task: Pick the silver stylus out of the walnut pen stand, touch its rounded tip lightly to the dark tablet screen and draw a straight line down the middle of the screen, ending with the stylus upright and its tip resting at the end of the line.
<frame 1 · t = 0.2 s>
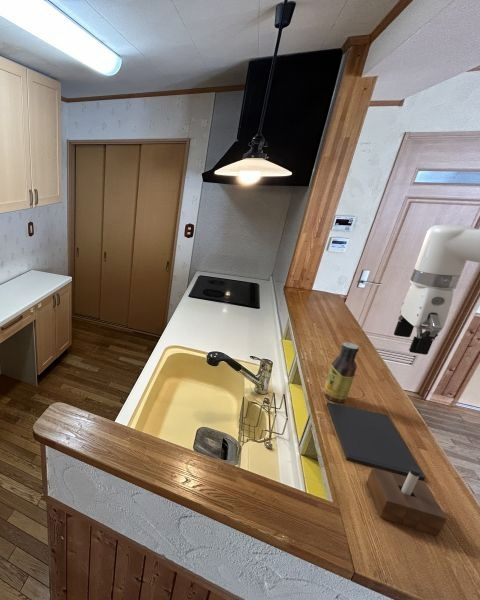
hand: (409, 344, 81), 29 cm above the worktop, tool pointing down, fingers open, 9 cm apart
stylus: (407, 489, 69), in the pen stand
sauce bottle: (333, 398, 106), on the worktop
pen stand: (399, 507, 71), on the worktop
tablet: (368, 437, 90), on the worktop
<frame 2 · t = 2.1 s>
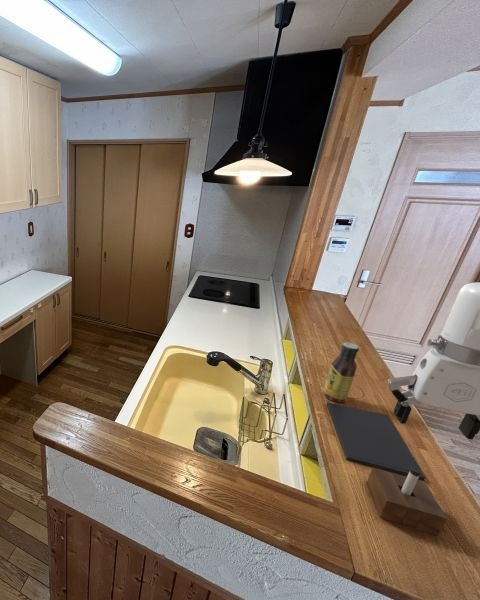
hand: (431, 426, 64), 22 cm above the worktop, tool pointing down, fingers open, 9 cm apart
nothing on the worktop moved.
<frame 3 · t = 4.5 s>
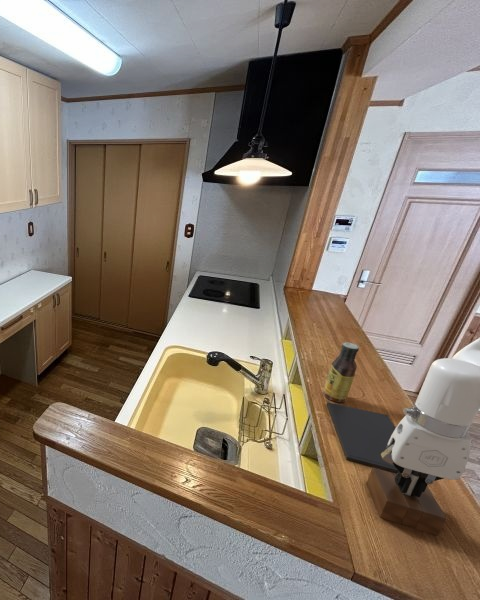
hand: (407, 489, 69), 6 cm above the worktop, tool pointing down, fingers closed on stylus, 1 cm apart
stylus: (407, 489, 69), in the pen stand, touching gripper
everything else where it was.
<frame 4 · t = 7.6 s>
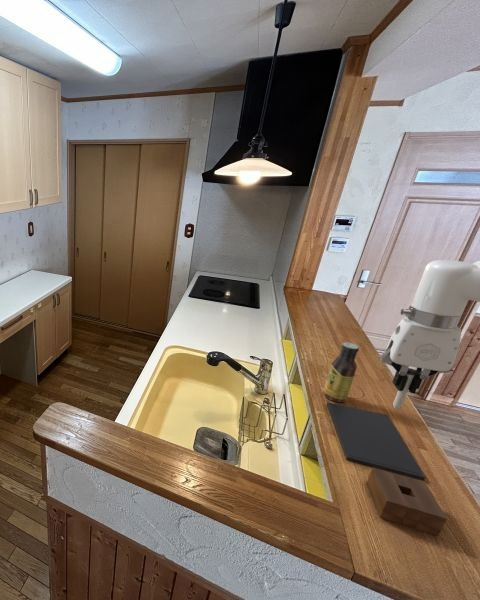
hand: (403, 388, 76), 21 cm above the worktop, tool pointing down, fingers closed on stylus, 1 cm apart
stylus: (403, 389, 76), point 21 cm above the worktop, touching gripper
everything else where it was.
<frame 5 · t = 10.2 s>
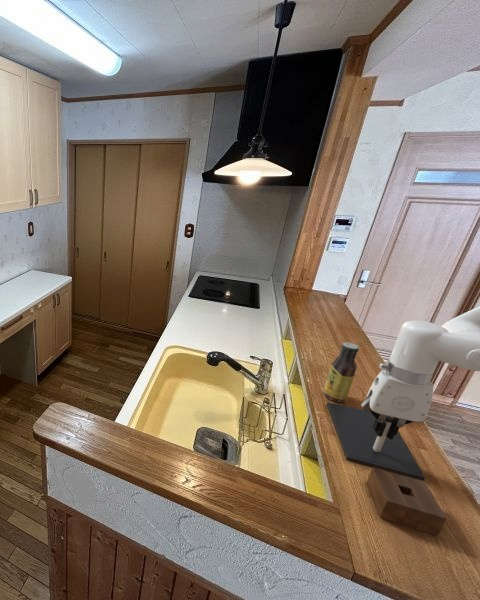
hand: (382, 433, 82), 7 cm above the worktop, tool pointing down, fingers closed on stylus, 1 cm apart
stylus: (382, 434, 82), on the tablet, point 7 cm above the worktop, touching gripper
everything else where it was.
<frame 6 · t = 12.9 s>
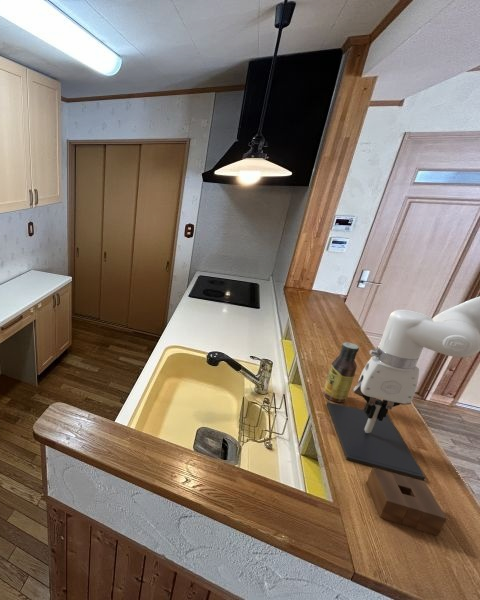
hand: (373, 416, 88), 7 cm above the worktop, tool pointing down, fingers closed on stylus, 1 cm apart
stylus: (372, 417, 88), on the tablet, point 7 cm above the worktop, touching gripper
everything else where it was.
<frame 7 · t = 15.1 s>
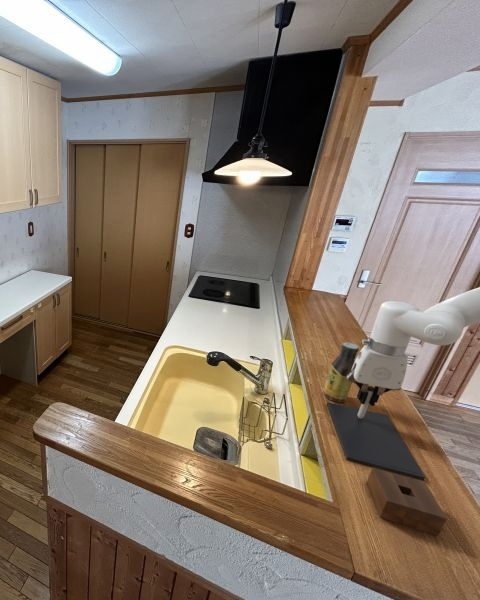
hand: (365, 402, 94), 7 cm above the worktop, tool pointing down, fingers closed on stylus, 1 cm apart
stylus: (365, 403, 94), on the tablet, point 7 cm above the worktop, touching gripper
everything else where it was.
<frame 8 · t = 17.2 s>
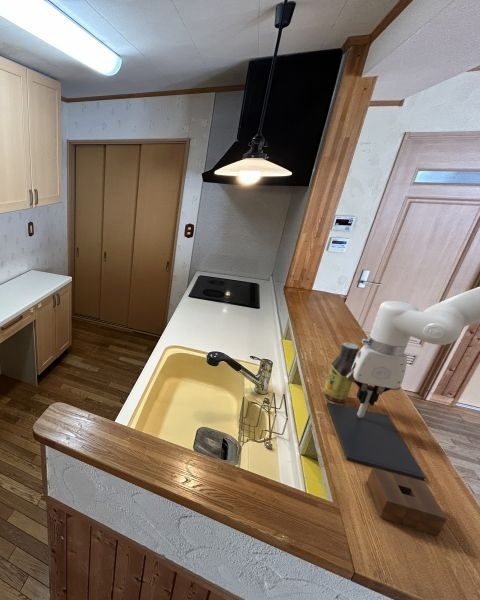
hand: (365, 401, 94), 7 cm above the worktop, tool pointing down, fingers closed on stylus, 1 cm apart
nothing on the worktop moved.
at the end: stylus 0.6 cm from the target spot on the tablet, point 6.6 cm above the tablet's base; stylus touching gripper, tablet; stylus tilted 1° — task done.
